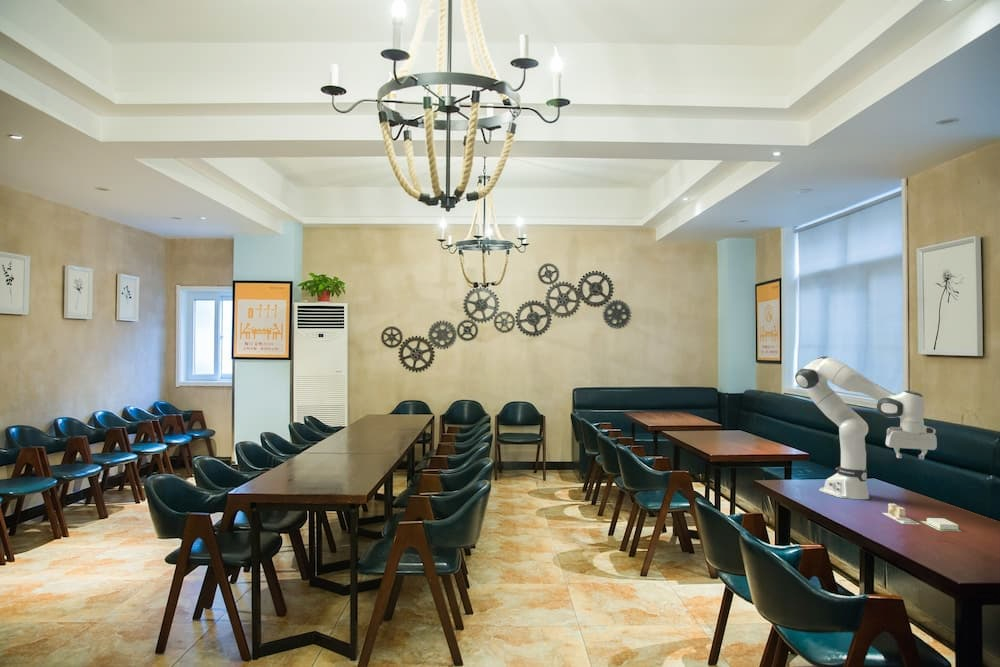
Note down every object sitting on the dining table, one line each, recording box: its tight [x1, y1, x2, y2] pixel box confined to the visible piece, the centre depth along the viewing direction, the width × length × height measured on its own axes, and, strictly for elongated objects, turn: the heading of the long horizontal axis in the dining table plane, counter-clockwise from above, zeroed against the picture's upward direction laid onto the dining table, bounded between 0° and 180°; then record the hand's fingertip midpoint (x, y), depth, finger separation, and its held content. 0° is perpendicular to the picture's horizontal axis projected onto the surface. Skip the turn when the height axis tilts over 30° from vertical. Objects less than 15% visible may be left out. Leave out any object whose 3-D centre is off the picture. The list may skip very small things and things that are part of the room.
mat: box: [920, 520, 961, 532], centre depth 260 cm, size 13×9×1 cm
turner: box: [887, 503, 917, 523], centre depth 270 cm, size 15×5×4 cm, turn 175°
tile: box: [926, 517, 959, 530], centre depth 259 cm, size 2×7×9 cm
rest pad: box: [882, 512, 921, 525], centre depth 270 cm, size 16×7×1 cm, turn 176°
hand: (910, 458), depth 279 cm, fingers open, 8 cm apart
